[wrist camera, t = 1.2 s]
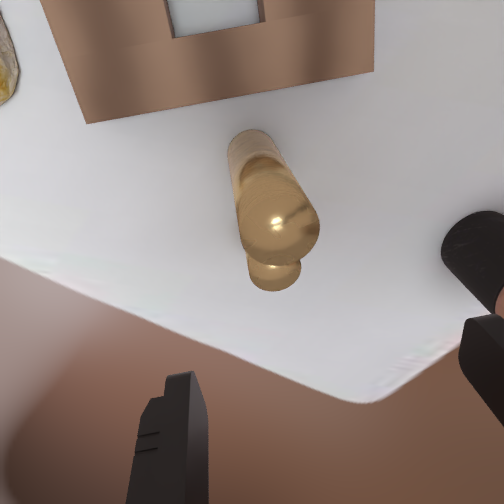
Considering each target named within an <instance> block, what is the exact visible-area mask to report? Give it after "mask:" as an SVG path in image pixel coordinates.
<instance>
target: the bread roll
mask: <svg viewBox="0 0 504 504" xmlns="http://www.w3.org/2000/svg"><path fill="white" fill-rule="evenodd" d="M18 72H19V70H18V65H17V61H16V58H15V54H14V48H13V45H12V41H11V39H10V37H9V34H8V31H7V29H6V27H5V24H4V21H3V19H2V17H1V15H0V105H2V104H3V103H4V102H5V101H6V100H7V99H9V98H10V97H11V96H12V94H13V92H14V89H15V87H16V82H17V76H18Z"/></svg>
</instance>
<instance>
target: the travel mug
mask: <svg viewBox="0 0 504 504" xmlns="http://www.w3.org/2000/svg"><path fill="white" fill-rule="evenodd" d="M441 255H442V259H443V262H444V264H445V265H446V266H447V267H448V269H449V270H450V271H451V272H452V273H453V274H454V275H455V276H456V277H457V278H458V279H459V280H460V281H461V282H462V283H463V285H464V286H465V287H466V288H467V289H468V290H469V291H470V292H471V293H472V294H473V295H474V296H475V297H476V298H477V299H478V300H479V301H480V302H481V303H482V304H483V305H484V307H485V308H486V309H487V310H488V311H489V312H490V313H491V314H497V315H499V316H501V317H502V318H503V319H504V215H502V214H500V213H497V212H492V211H483V212H478V213H475V214H472V215H470V216H467V217H466V218H464V219H462V220H461V221H460V222H458V223H457V224H456V225H455V226H454V227H453V228H452V229H451V230H450V231H449V233H448V234H447V236H446V237H445V239H444V242H443V244H442V249H441Z"/></svg>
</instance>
